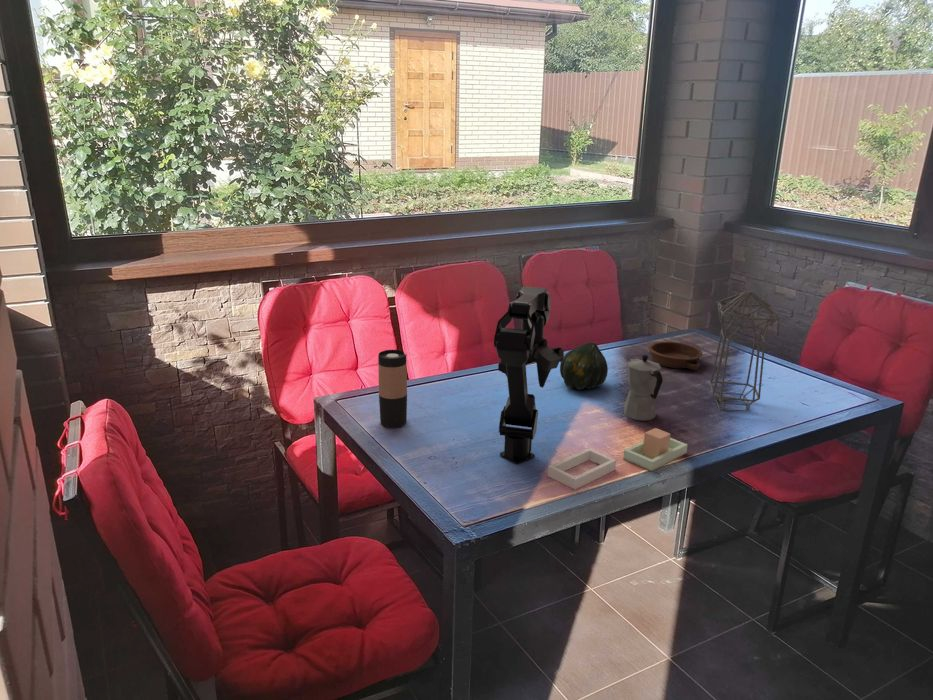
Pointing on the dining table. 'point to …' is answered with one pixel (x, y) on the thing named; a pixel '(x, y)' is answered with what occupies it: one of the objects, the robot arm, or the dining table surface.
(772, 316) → the geometric lantern
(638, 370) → the coffeepot
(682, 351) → the dish
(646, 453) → the tan block
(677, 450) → the green bin
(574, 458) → the grey bin
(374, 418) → the dining table surface
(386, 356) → the travel mug
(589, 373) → the squash
